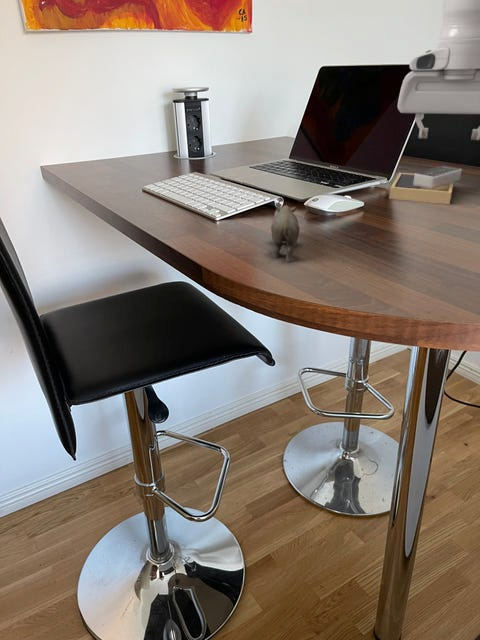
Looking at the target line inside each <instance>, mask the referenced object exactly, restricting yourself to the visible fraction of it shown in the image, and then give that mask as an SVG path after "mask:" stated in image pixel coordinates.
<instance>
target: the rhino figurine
mask: <svg viewBox="0 0 480 640" xmlns="http://www.w3.org/2000/svg"><path fill="white" fill-rule="evenodd" d="M276 211H277V213H276V214H275V215H274V218H273V220H272V223H271V227H270V233H271V239H272V244H273V246H274V247H273V248H274V249H273V252H272V253H271V254H270V256H271V257H272V258H275V259H278V258H280V257H281V253H280V251H281V249H282V245H283V243H285V245H286V257H285V258H284V259H285V262H286V263H294V262H295V261H296V258H295V257H293V255H294V249H295V248H296V247H297V242H298V239H299V235H300V225H299V220H298V217H297V215H295V212H296V211H297V207H296V206H293V207H290V206H288V205H284V206H283V207H281V205H279V204H276Z"/></svg>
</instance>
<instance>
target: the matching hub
mask: <svg viewBox="0 0 480 640" xmlns="http://www.w3.org/2000/svg"><path fill="white" fill-rule="evenodd" d="M413 182H414V175H405V174H403V175H402V177H401V179H400V181H399V183H398V184H397V186H396V187H402V188H413V189H419V188H420V187H419V186H414V185H413Z"/></svg>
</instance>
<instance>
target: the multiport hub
mask: <svg viewBox="0 0 480 640" xmlns="http://www.w3.org/2000/svg"><path fill="white" fill-rule="evenodd" d="M462 171H463V170H462V168H461V167H454V166H450V165H449V166H448V165H441V166H437V167H436V166H435V167H433V168H430V169H429V168H428V169H426V170H422V171H418V172H415V173H414V174H415V175H414V182H413V185H414V186H419V187H424V188H429V189H435V188H438V187H441V186H444V185H447V184H450V183H453V184H454V183H456V182H459V181H461V175H462Z"/></svg>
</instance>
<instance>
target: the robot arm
mask: <svg viewBox="0 0 480 640" xmlns="http://www.w3.org/2000/svg"><path fill="white" fill-rule="evenodd" d="M409 69H410V70H411V71H409V72H408V73H407V74H406V75H405V76H404V79H403V80H402V84H401V87H400V91H399V96H398V100H397V110H398V112H399V113H400V114H415V118H414V121H415V123H416V125H417V128H418V129H419V132H418V139H425V140H426V139H428V132H429V127H425V126H424V124H423V119H424V117H425V114H428V115H429V114H432V115H434V114H435V115H437V114H438V115H441V114H442V115H480V0H443V4H442V28H441V31H440V33H439V37H438V39H437V45H436V49H429V50H426V51H425V52H423V53H420V54H417V55H415V56H413V57H411V59H410V60H409ZM470 141H480V125H479V126H478V127H477V128H473V129H472V130H471V137H470Z"/></svg>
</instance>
